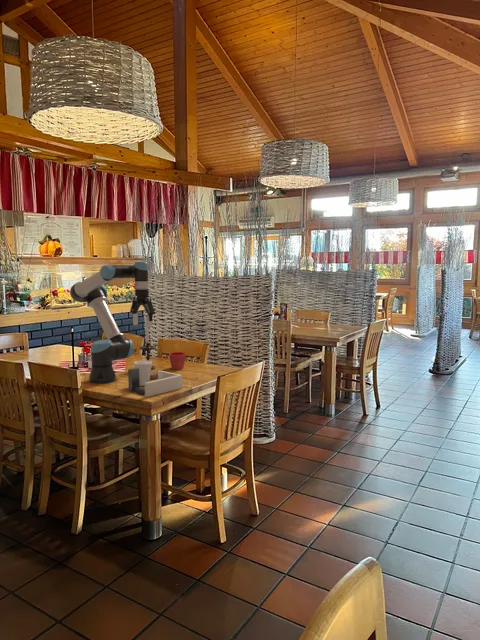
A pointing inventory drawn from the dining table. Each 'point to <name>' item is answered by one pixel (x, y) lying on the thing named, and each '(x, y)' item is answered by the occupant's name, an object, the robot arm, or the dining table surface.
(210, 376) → the dining table surface
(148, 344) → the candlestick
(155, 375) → the walnut stick
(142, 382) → the cup
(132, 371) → the crook tool
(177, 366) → the flower pot
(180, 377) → the cubby
